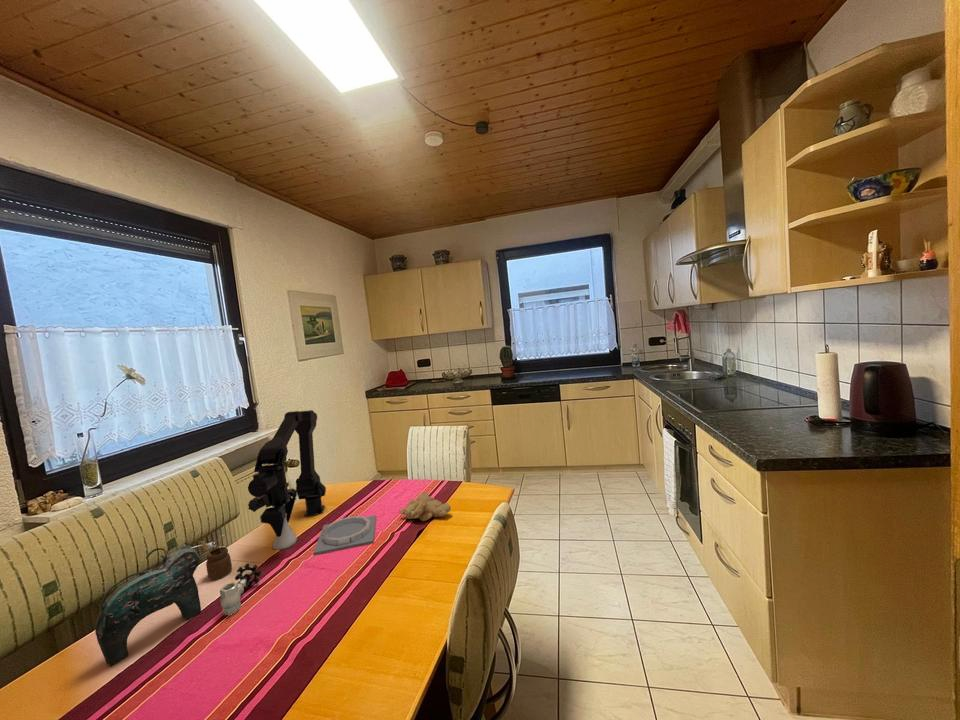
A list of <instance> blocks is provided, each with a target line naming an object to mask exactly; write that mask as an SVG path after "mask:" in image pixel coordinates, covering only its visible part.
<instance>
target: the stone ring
mask: <svg viewBox="0 0 960 720" xmlns="http://www.w3.org/2000/svg"><path fill="white" fill-rule="evenodd" d="M366 517H367V516H361V515H353V516H348V517H343V518H340V519H338V520H334V521H333V522H331V523H329V524H330V525H328V526H327V527H326V528H324V530H323V532H322V541H324V542H325V543H326V544H327V545H336V546H337V545H338V546H339V545H343V544H348V543H352V542H354V541H356V540H359V539H361V538H363V537H364V536H365V535H366V534H367V533H368V532H369V531H370V528H371V522H370V520H369V519H368V518H366ZM354 522H355V523H363V524H365V525H366V526H365V527H364V528H363V529H362V530H361V531H359V532H357V533H355V534H353V535H351V536H347V537H342V538H332V537H329V536H328V533H330V532H331V531H332V530H333V529H335V528H337V527H339V526H342V525H344V524H349V523H354Z"/></svg>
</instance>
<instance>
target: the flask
mask: <svg viewBox="0 0 960 720" xmlns="http://www.w3.org/2000/svg"><path fill="white" fill-rule="evenodd" d="M285 515H287V513H285ZM297 541H298V537H297V536H296V534H295V532H294V531H293V530H292V528H291V526H290V525H289V522H287V519H286V517H285V521H284V526H283V530H282V534H281V536H280V537H277V535H276V534H275V536H274V539H273V544H272V549H273V550H277V551H279V550H280V551H281V550H285V549H289V548H290V547H292V546H294V545H295V544H296V543H297Z"/></svg>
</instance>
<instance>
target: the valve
mask: <svg viewBox="0 0 960 720" xmlns="http://www.w3.org/2000/svg"><path fill="white" fill-rule="evenodd" d="M258 567H259V566H258V565H257V564H254V565H253V566H251V564H250V563H248V562H246V563H245V565H244V566H243V567H242V566H240V567H239V568H238V569H237V570H236V572H237V573H239V574H237V575H236V576H235V577H234V580H236V581H238V582H236V581H231V582H229V583H226V584H224V585H223V586H222V587H220V590H219V595H220V605H221V607H222V614H223V615H224V614H225V615H224V616H226V615H228V616H227V617H230V616H229V615H231V614H233V613H235V612H237V611H238V610H239V608H240V607H241V608H242V603H241V597H242V594H243V593H244V590H245V587H247V588H248V587H250V588H251V587H252V586H253V585H254V584H255V585H258V584H259V582H260V578H258V577H261V575H262V574H263V573H262V571H261V570H257V569H258ZM247 571H248V572H247ZM250 571H251V572H250ZM244 572H246V573H245V574H244ZM253 576H254V577H253ZM252 577H253V579H252ZM253 583H254V584H253ZM241 608H240V609H241ZM239 611H240V610H239ZM239 611H238V612H239ZM238 612H237V613H238ZM235 614H236V613H235ZM233 615H234V614H233ZM231 616H232V615H231Z"/></svg>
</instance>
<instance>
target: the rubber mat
mask: <svg viewBox="0 0 960 720" xmlns="http://www.w3.org/2000/svg"><path fill="white" fill-rule="evenodd" d="M365 517H366V518H368V519H369V520H370V522H371V528H370V531H369V532H368V533H367V534H366V535H365V536H364V537H363V538H361V539H359V540H356V541H354V542H352V543H348V544H343V545H339V546H338V545H337V546H336V545H327V544H326V543H325V542H324V541H322V532H323V530H324V528H326V527H327V526H328V525H330V524H331V523H325V524H324V525H323V526H322V529H321V532H320V534H319V536H318V540H317V542H316V545H315V547H314V549H313V552H312V554H313V556H316V555H322V554H326V553H331V552H336V551H341V550H346V549H351V548H357V547H362V546H366V545H370V544H374V542H375V532H376V525H377V524H376V523H377V515H369V516H365ZM365 526H366V525H365V524H363V523H355V522H354V523H349V524H344V525H342V526H339V527H337V528H335V529H333V530H332V531H331V532H330V533H328V536H329V537H332V538H342V537H347V536H351V535H353V534H355V533H357V532H359V531H361V530H362V529H363V528H364V527H365Z"/></svg>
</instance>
